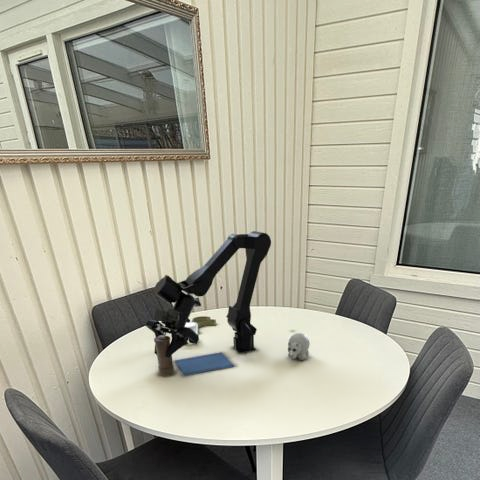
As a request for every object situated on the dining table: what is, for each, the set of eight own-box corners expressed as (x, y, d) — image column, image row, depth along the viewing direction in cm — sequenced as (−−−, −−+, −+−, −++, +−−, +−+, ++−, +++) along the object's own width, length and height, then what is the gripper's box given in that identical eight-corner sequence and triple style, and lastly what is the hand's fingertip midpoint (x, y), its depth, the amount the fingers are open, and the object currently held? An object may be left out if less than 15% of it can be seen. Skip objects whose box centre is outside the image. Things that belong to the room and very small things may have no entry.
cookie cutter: (194, 335, 164) (194, 331, 163) (171, 331, 169) (170, 326, 168) (219, 323, 177) (219, 318, 176) (197, 319, 182) (196, 314, 181)
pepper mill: (172, 368, 137) (167, 332, 131) (176, 374, 133) (171, 337, 127) (157, 371, 136) (152, 335, 129) (161, 377, 132) (155, 340, 125)
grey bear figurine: (279, 364, 137) (279, 340, 133) (292, 352, 146) (293, 328, 142) (299, 368, 134) (300, 343, 130) (311, 355, 143) (313, 331, 139)
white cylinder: (196, 345, 155) (194, 327, 151) (178, 344, 156) (176, 326, 152) (201, 339, 160) (199, 321, 157) (184, 338, 162) (182, 321, 158)
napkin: (221, 353, 148) (221, 352, 147) (234, 366, 137) (234, 365, 137) (175, 361, 143) (174, 360, 142) (184, 375, 132) (184, 374, 132)
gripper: (145, 294, 130) (124, 338, 128) (188, 302, 120) (166, 350, 118) (166, 312, 139) (147, 353, 138) (208, 321, 129) (188, 365, 128)
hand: (161, 355), depth 130 cm, fingers closed on pepper mill, 4 cm apart
